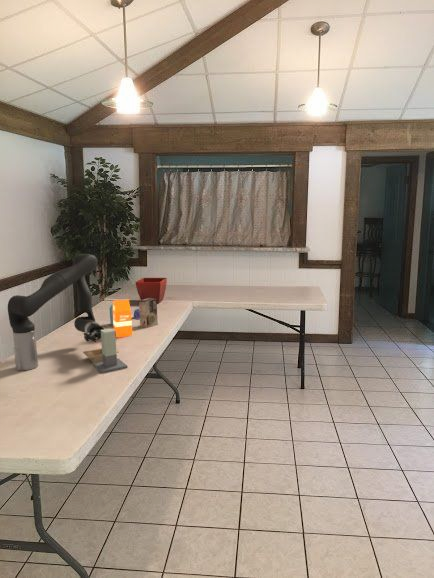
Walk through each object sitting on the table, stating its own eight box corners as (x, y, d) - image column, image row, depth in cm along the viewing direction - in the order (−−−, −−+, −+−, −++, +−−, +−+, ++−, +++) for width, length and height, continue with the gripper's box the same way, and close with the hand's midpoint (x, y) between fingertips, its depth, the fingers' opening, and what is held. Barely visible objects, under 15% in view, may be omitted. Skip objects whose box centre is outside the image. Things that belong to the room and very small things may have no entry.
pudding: (128, 316, 302) (128, 308, 301) (146, 314, 306) (146, 306, 305) (131, 320, 291) (131, 312, 290) (150, 318, 295) (150, 310, 294)
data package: (131, 322, 285) (130, 303, 282) (130, 324, 280) (129, 305, 278) (111, 323, 283) (110, 304, 281) (110, 325, 279) (109, 306, 277)
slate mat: (101, 373, 200) (101, 371, 200) (93, 365, 210) (93, 363, 210) (127, 367, 207) (127, 365, 206) (118, 360, 217) (118, 358, 216)
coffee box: (150, 323, 283) (149, 297, 280) (158, 324, 279) (157, 298, 276) (139, 326, 276) (138, 300, 273) (146, 327, 272) (145, 301, 269)
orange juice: (114, 333, 261) (111, 299, 257) (129, 332, 264) (127, 298, 260) (116, 337, 254) (114, 302, 250) (132, 335, 257) (130, 300, 253)
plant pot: (135, 304, 336) (134, 281, 333) (144, 298, 354) (143, 277, 351) (161, 304, 333) (160, 282, 329) (168, 299, 351) (167, 277, 348)
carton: (89, 364, 212) (88, 357, 211) (83, 358, 220) (82, 351, 219) (119, 358, 219) (119, 351, 218) (112, 353, 227) (112, 346, 227)
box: (106, 367, 205) (104, 332, 202) (102, 363, 209) (100, 330, 206) (117, 364, 208) (115, 330, 205) (113, 361, 212) (111, 328, 209)
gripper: (79, 325, 220) (88, 333, 207) (108, 320, 227) (119, 328, 214) (80, 340, 222) (89, 349, 208) (108, 335, 229) (119, 343, 215)
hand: (104, 338), depth 211 cm, fingers open, 8 cm apart
